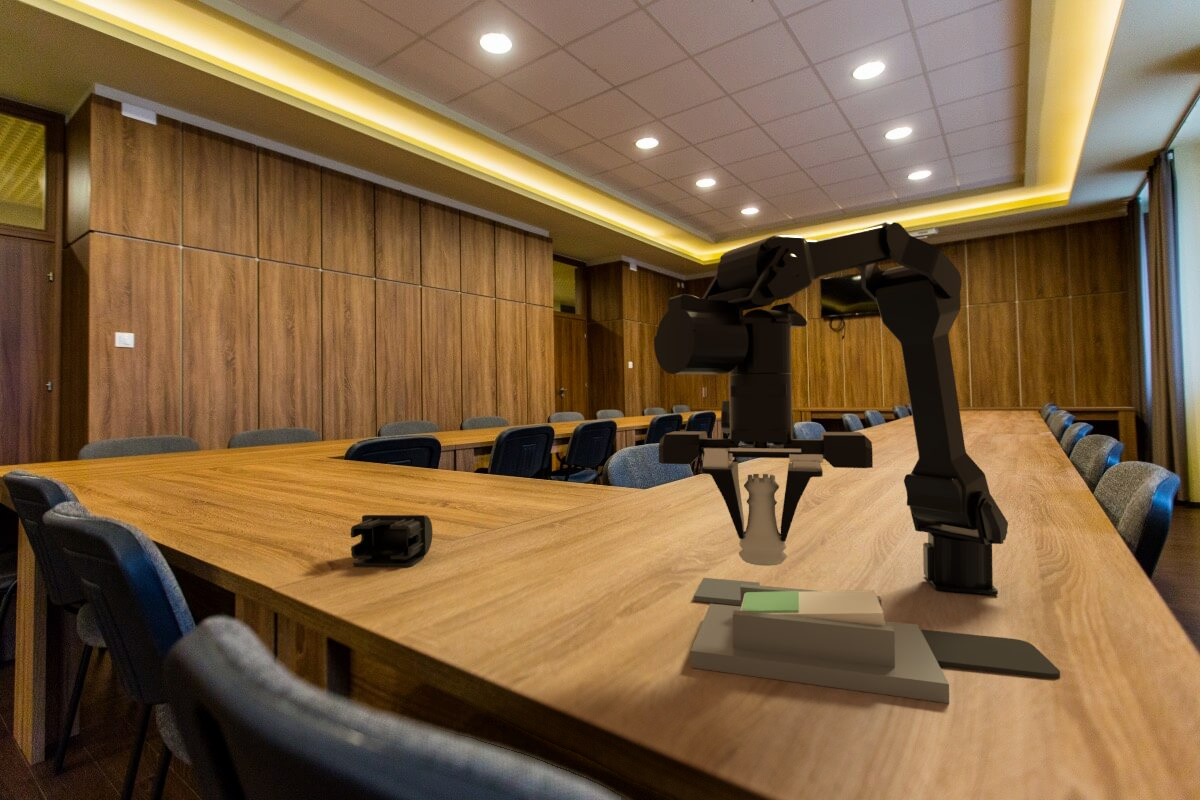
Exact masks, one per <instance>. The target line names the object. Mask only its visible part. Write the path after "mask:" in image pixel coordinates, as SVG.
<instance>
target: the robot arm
mask: <svg viewBox="0 0 1200 800" xmlns="http://www.w3.org/2000/svg"><path fill="white" fill-rule="evenodd" d="M719 259H720V260H719V262H718V264H717V271H716V275H715V276H714V277H713V279H712V281H711V282H710V284H709V286H708V288H707V290H705V293H704V294H703V296H702V298H701V297H697V296H695V295H692V294H679V295H675V296H672V297H669V299H668V300H667V308H668V309H667V312H666V313H665V314H664V315H663V317H662V318H661V320H660V322H659V325H658V327H657V331H656V335H655V336H654V338H653V347H654V355H655V358H656V361H657V362H658V365H659V366H660V368H661V369H662V371H664V372H665V373H666V374H671V375H726V374H728V392H729V393H728V396H729V400H722V402H721V403H722V404H721V413H720V427H721V430H722V432H723V433H724V434H729V438H708V434H707V431H692V430H691V431H679V430H678V431H676V430H675V431H671V432H667V433H665V434H663V436H662V437H661V438H660V439H659V443H658V463H659V464H663V465H672V464H673V465H691V464H692V463H694V461H695V460H696V459H700V458H701V461H702V466H701V467H700V473H701V474H702V475H710V476H711V477H712V479H713V481H714V483H715V485H716V487H717V489H718V490H719V492H720V495H721V496H722V498H723V500H724V502H725V505H726V507H727V511H728V513H729V515H730V518H731V520H732V523H733V525H734V528H735V531H736V534H737V537H738V538H739V540H740V539H743V538H744V532H745V518H744V517H745V516H744V511H743V510H744V509H743V508H744V507H743V501H742V493H741V488H740V487H741V485H740V482H739V481H740V479H739V462H738V461H734V460H735V458H754V459H755V458H756V459H757V458H759V459H760V458H761V459H763V458H764V459H767V458H768V459H788V460H789V463H788V464H787V465H788V466H787V476H786V481H785V482H786V483H785V492H784V496H783V497H784V498H783V505H782V512H781V514H782V515H781V520H780V521H781V522H780V533H781V541H784V542H786V540H787V537H788V535H789V531H790V529H791V525H792V521H793V519H794V516H795V514H796V513H795V512H796V510H797V507H798V504H799V503H800V500H801V498H802V496H803V494H804V492H805V489H806V488H807V486H808V484H809V482H810V480H811V479H812V478H821V477H823V476H824V475H823V471H824V470H823V468H822V465H821V463H824V460H825V461H827V463H829V465H830V466H831V467H833V468H834V469H835V468H842V469H843V468H846V469H872V468H873V465H874V464H873V445H872V444H873V443H872V441H871V440H870V439H869V438H868V437H867V436H866V435H865V434H863V433H861V432H859V431H821V432H820V438H818V439H812V438H809V439H808V438H803V439H802V438H800V439H799V438H794V413H793V397H792V395H793V390H792V389H793V388H792V385H793V383H792V329H796V328H804V327H806V326H807V325H808V321H807V319H806V318H805V317H804V316H803V315H802V314H801V313H800V312H798V311H797V310H796V309H795V308H794V306H793V305H792V303H791V302H787V303H786V302H785V303H780V304H776V305H775V304H774V305H773V306H772V307H771V308H770V309H762V308H763V307H767V306H768V307H769V306H771V305H772V304H773V303H774V302H776V301H778V300H779V301H781V300H784V299H788V298H791V297H793V296H794V295H797V294H798V293H800V292H801V291H804V290H805V289H807V288H809V287H810V286H811V285H812V284H813V282H814V281H815V280H816V279H819V278H821V277H822V276H826V275H827V276H828V275H830V274H834V273H838V272H841V271H845V270H848V269H852V268H857V269H858V270H859V272H860V281H861V282H860V284H861V289H862V290H863V291H864V292H865V293H866V294H867V296H869V297H870V298H871V299H872V300H873V302H875V304H877V307H878V311H879V314H880V315H879V316H880V318H881V322H882V324H883V325H884V326H885V327H886V328H887V329H888V331H889V332H890V334H892V336H894V337H895V339H896V340H897V341H898V342H899V343H900V346H901V354H902V358H903V359H902V360H903V366H904V373H905V379H906V384H907V390H908V397H909V403H910V409H911V415H912V422H913V429H914V434H915V440H916V447H917V452H918V459H917V461H916V463H915V465H914V467H913V469H912V470H911V472H910V473H907V474H906V475H905V476H904V478H903V483H904V487H905V491H906V507H909V510H910V514H911V518H912V522H913V526H914V530H915V531H916V532H922V533H927V542H924V543H923V544H922V545H923V546H922V547H923V548H922V551H923V552H922V553H923V558H922V559H923V560H922V561H923V562H922V563H923V575H924V577H926V579H927V580H928V581H929V582H930V584H931V585H932V587H933V588H934V589H935V590H938V591H946V592H957V593H971V594H982V595H993V596H994V595H999V590H998V588H996V587H995V586H994V584H993V583H994V581H993V580H994V579H993V578H994V577H993V571H994V570H993V545H1002V544H1004V541H1006V540H1007V539H1006V538H1007V534H1008V526H1009V522H1008V520H1007V519H1006V517H1005V516H1004V514H1003V512H1002V511H1001V509H1000V507H999V505H998V504H997V502H996V501H995V499H994V497H993V496H992V495H991V492H990V489H989V485H988V482H987V481H988V480H987V477H986V474H985V472H984V471H983V470H982V469H981V468H980V467H979V465H978V464H977V463H976V462H975V460H973V459H972V457H970V455H969V454H968V453H967V450H966V446H965V445H966V444H965V440H964V439H965V438H964V433H963V432H964V431H963V426H962V425H963V424H962V419H961V412H960V405H959V400H958V399H959V398H958V392H957V386H956V380H955V379H956V378H955V372H954V371H955V370H954V365H953V358H952V351H951V345H950V338H949V335H950V331H951V330H952V327H953V326H954V323H955V320H957V317H958V315H959V313H960V312H961V305H962V304H961V291H962V290H961V289H962V277H961V273H960V271H959V270H958V268H957V266H955V264H954V263H953V262H952V261H951V259H950V258H949V257H948V256H947V255H946V254H945V252H944V251H943V250H942V249H941V248H939V247H938V246H935V245H933V244H932V243H929V242H926V241H924V240H922V239H919V238H917V237H915V236H912V235H910V233H909V232H908V231H907V230H906V229H905V228H904V226H902V224H900V223H899V222H892V221H885V222H883V223H879V224H876V225H873V226H868V227H865V228H862V229H859V230H855V231H850V232H846V233H842V234H837V235H833V236H829V237H823V238H819V239H806V238H804V237H803V236H800V235H784V234H777V235H772V236H769V237H765V238H763V239H760V240H757V241H754V242H752V243H749V244H748V243H747V244H745V245H742V246H739V247H736V248H733V249H731V250H728V251H726V252H724V253H723V254H722V255H721V256H720V258H719ZM891 260H893V261H894V262H895V263H896V264H898V265H899V266H896V267H895V266H894V267H893V268H892V267H891V268H887V269H886V270H884V272H883V270H881V269H880V268H879V266H877V265H876V264H877V263H878V264H879V263H882V262H886V261H891ZM747 310H749V311H748V312H745V313H744V311H747ZM769 444H770V445H769Z"/></svg>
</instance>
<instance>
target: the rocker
mask: <svg viewBox="0 0 1200 800" xmlns="http://www.w3.org/2000/svg"><path fill="white" fill-rule="evenodd" d="M876 593H877V592H876V591H875V589H864V590H863V589H862V590H861V589H859V590H858V589H857V590H827V591H826V590H824V591H823V590H816V591H808V592H799V591H777V592H746V593H745V594H744V598H743V602H742V606H740V607H741V610H740V611H747V612H756V613H766V614H776V615H785V616H795V617H805V618H814V619H824V620H834V621H843V622H853V623H863V624H873V625H882V626H885V621H886V620H885V614H884V610H883V609H882V605H881V606H880V603H879V601H878V598H877V596H878V595H877V594H876Z"/></svg>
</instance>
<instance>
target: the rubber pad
mask: <svg viewBox="0 0 1200 800" xmlns="http://www.w3.org/2000/svg"><path fill="white" fill-rule="evenodd" d="M741 584H748V585H760V586H761V584H760V582H759V581H758V582H757V581H746V580H736V579H735V580H733V579H725V578H724V579H721V578H712V577H711V578H710V577H703V578H702V579H701V581H700V584H699V585H698V588H697V590H696V591H695V593H694V596H693V598H694V599H693V601H694V602H703V603H709V604H719V605H729V606H739V607H741V590H740V587H741Z"/></svg>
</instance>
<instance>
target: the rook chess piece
mask: <svg viewBox="0 0 1200 800" xmlns="http://www.w3.org/2000/svg"><path fill="white" fill-rule="evenodd" d="M759 475H760V474H759V473H753V474H747V481H746V482H745V483H744V484H743V487H744V488H745V490H746V491H747V493H748V498H747V500H746V503H747V505H748V515H747V516H748V517H747V525H746V528H745V530H744V538H743V539H739V540H740V541H739V547H740V548H741V550H739V551H738V556H739V557H740V558H741V560H742V561H743V562H745V563H748V564H750V565H755V566H762V567H763V566H765V567H766V566H767V567H771V566H777V565H782V563H784V562H785V560H786V559H787V558H788V555H787V553H786V552H784V551H785V550H786V549H787V545H786V543H785V542H786V541H785V542H784V541H781V532H780V531H779V528H778V523H777V516H776V505H777V504H778V501H777V500H776V498H775V494H776V493H777V491H779V489H780V485H779V484H778V483H777V481H776V476H775V474H774V475H773V474H769V473H768V474H767V473H763V474H762V477H760V476H759Z"/></svg>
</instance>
